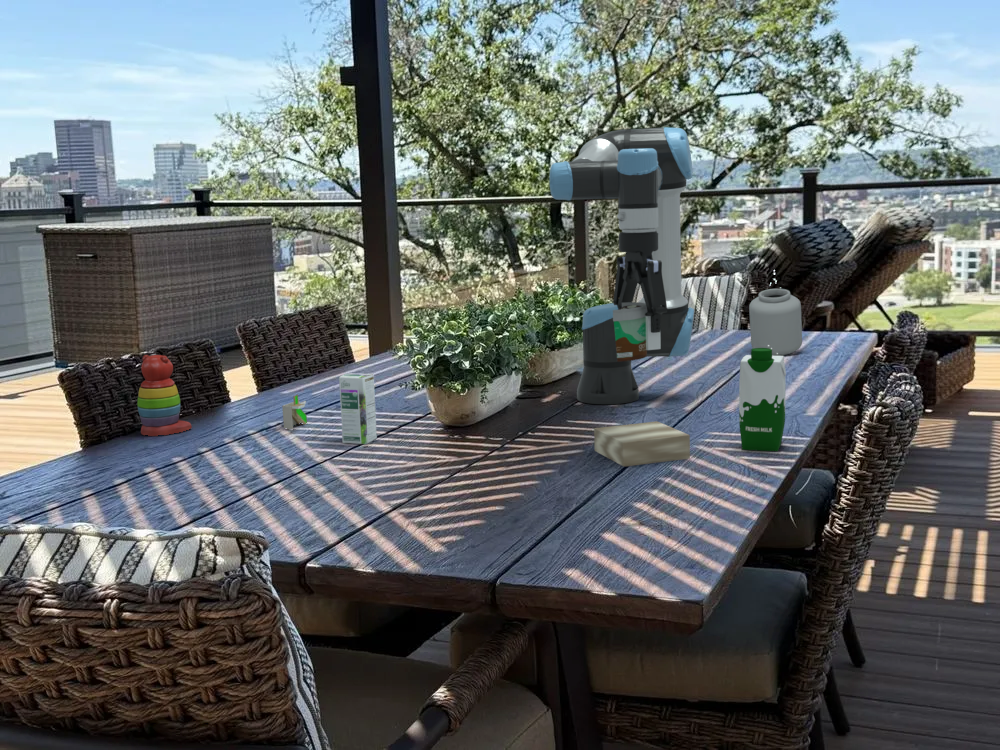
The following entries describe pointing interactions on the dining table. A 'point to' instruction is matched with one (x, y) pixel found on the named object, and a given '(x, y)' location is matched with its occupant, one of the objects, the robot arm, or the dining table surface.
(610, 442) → the birch riser block
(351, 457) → the dining table surface
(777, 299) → the jar
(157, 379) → the stacking bear
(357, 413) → the syrup box
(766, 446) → the milk carton
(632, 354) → the food container
